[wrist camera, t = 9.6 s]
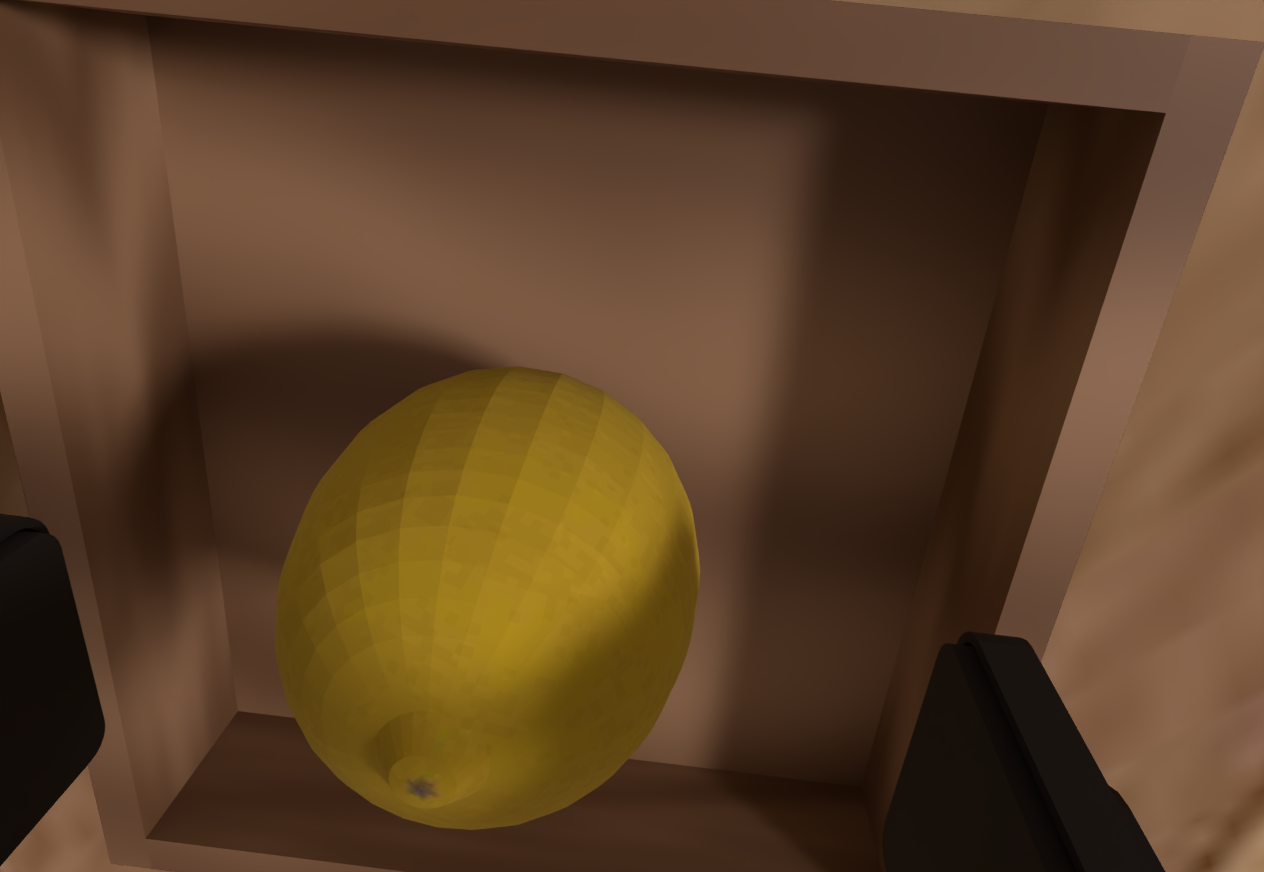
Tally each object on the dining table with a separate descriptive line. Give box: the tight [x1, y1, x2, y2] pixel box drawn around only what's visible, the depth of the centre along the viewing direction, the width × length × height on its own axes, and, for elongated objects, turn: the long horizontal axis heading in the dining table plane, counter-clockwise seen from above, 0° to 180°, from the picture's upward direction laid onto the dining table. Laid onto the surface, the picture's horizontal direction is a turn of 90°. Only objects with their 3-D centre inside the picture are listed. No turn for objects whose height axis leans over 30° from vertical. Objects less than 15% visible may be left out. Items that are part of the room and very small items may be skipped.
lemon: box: [274, 366, 700, 830], centre depth 12 cm, size 6×6×8 cm
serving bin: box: [0, 0, 1264, 872], centre depth 14 cm, size 16×16×4 cm
